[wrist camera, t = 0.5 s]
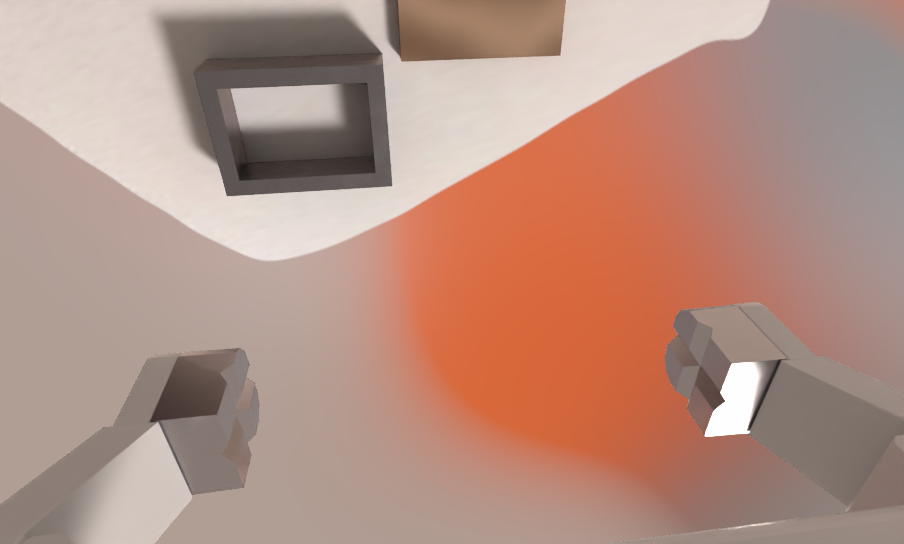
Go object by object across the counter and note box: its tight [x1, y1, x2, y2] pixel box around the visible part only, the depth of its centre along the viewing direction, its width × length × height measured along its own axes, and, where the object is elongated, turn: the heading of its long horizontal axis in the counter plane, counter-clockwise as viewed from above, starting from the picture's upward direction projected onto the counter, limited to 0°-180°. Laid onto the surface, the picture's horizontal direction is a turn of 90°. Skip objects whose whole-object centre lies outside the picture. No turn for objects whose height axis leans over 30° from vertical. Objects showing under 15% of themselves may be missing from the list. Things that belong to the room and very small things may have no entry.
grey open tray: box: [194, 53, 392, 196], centre depth 48 cm, size 11×15×4 cm
